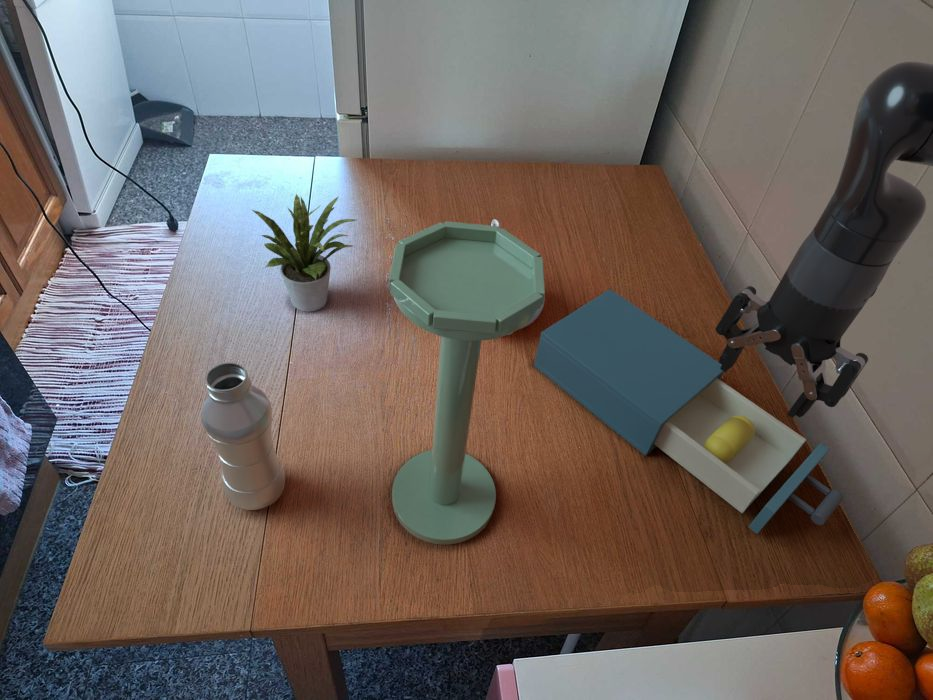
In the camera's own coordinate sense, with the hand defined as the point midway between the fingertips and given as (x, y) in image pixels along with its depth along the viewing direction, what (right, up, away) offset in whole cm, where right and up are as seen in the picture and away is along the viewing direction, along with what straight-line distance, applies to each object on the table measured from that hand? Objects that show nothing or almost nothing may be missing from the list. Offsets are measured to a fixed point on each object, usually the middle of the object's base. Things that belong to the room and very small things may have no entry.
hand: (759, 389), depth 73 cm
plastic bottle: (-57, -12, +1) cm, 58 cm away
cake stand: (-36, -13, +2) cm, 38 cm away
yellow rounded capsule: (-1, -6, +7) cm, 9 cm away
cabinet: (-12, 0, +17) cm, 21 cm away
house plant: (-56, +11, +23) cm, 61 cm away
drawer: (0, -10, +8) cm, 13 cm away
